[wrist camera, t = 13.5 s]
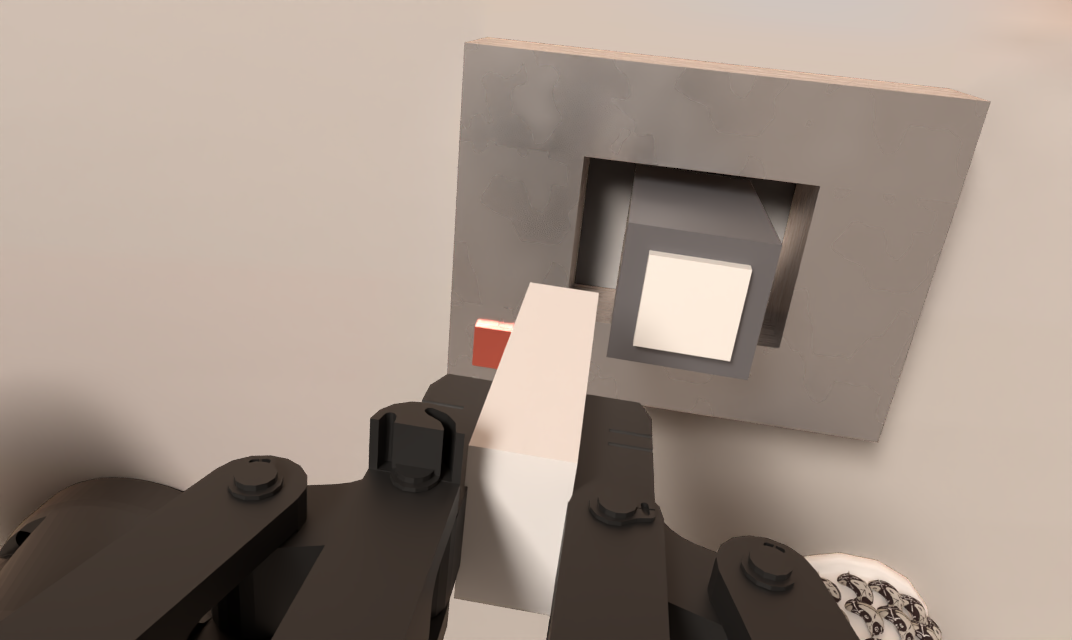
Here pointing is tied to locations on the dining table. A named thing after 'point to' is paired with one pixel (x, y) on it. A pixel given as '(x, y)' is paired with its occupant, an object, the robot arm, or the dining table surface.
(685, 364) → the plug
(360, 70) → the dining table surface
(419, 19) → the dining table surface
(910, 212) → the socket plate
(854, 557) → the decorative candle
